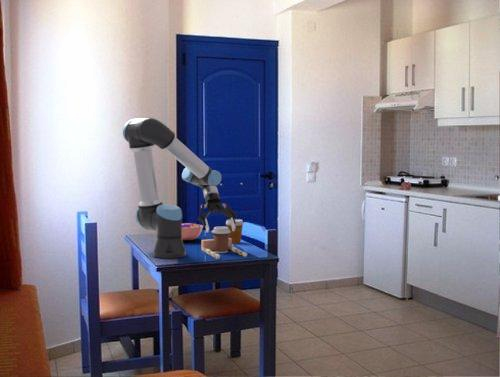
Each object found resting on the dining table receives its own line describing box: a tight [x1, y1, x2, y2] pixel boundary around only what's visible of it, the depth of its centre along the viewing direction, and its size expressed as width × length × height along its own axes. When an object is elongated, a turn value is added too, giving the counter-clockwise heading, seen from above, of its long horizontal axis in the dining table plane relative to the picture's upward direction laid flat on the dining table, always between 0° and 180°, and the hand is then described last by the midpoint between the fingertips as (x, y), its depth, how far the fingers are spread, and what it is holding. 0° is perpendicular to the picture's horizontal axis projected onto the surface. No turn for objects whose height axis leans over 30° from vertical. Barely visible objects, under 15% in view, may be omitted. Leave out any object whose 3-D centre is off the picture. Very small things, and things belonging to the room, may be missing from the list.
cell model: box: [182, 222, 204, 242], centre depth 317 cm, size 17×20×11 cm
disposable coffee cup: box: [225, 218, 244, 245], centre depth 311 cm, size 10×10×12 cm
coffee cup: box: [211, 225, 230, 254], centre depth 286 cm, size 9×9×12 cm
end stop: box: [200, 238, 233, 252], centre depth 293 cm, size 3×15×5 cm, turn 113°
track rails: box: [202, 245, 248, 260], centre depth 282 cm, size 20×15×2 cm
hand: (221, 230), depth 289 cm, fingers open, 13 cm apart
